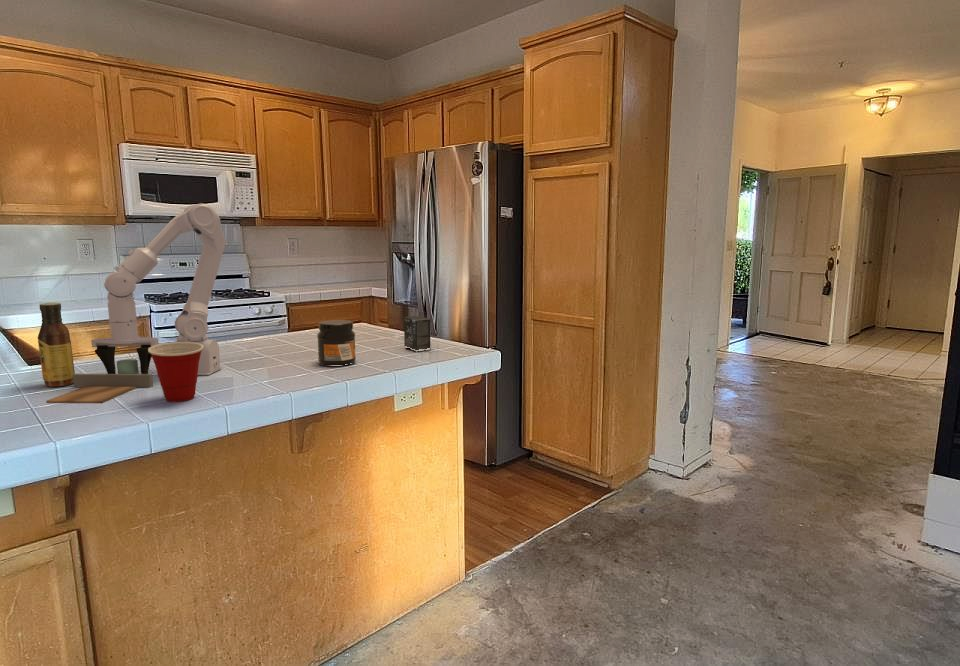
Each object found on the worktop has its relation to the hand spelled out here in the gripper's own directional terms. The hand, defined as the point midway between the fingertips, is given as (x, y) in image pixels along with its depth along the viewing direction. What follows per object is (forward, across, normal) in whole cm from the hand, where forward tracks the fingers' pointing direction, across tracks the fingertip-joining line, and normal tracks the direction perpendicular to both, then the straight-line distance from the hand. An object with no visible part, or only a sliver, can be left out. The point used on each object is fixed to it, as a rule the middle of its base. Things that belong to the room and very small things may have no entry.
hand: (128, 374), depth 140 cm
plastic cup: (+2, -19, +18) cm, 26 cm away
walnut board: (+1, +2, +13) cm, 14 cm away
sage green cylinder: (+2, 0, 0) cm, 2 cm away
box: (+2, -72, -34) cm, 80 cm away
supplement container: (+2, -49, -15) cm, 52 cm away
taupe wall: (+1, +1, +6) cm, 6 cm away
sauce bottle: (+2, +14, +3) cm, 15 cm away
